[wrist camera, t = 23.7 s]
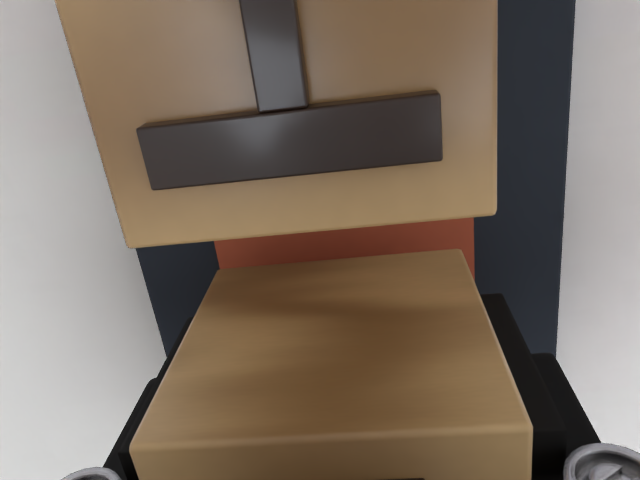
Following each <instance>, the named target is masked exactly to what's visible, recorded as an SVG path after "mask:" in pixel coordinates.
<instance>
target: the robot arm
mask: <svg viewBox="0 0 640 480" xmlns="http://www.w3.org/2000/svg"><path fill="white" fill-rule="evenodd" d="M480 297H481V299H482V302H483V304H484V307H485V309H486V311H487V314H488V316H489V319H490V321H491V324H492V326H493V329H494V331H495V334H496V336H497V339H498V341H499V344H500V346H501V349H502V351H503V354H504V356H505V359H506V361H507V364H508V366H509V368H510V371H511V373H512V376H513V378H514V381H515V383H516V386H517V388H518V391H519V393H520V396H521V398H522V401H523V403H524V406H525V408H526V411H527V413H528V416H529V418H530V421H531V423H532V426H533V447H532V475H531V480H640V453H638V452H635V451H633V450H631V449H629V448H626V447H622V446H618V445H614V444H605V443H601V442H600V440H599V438H598V436H597V434H596V432H595V430H594V429H593V427H592V425H591V423H590V421H589V419H588V417H587V416H586V414H585V412H584V410H583V408H582V406H581V404H580V403H579V401H578V399H577V397H576V395H575V393H574V391H573V390H572V388H571V386H570V384H569V382H568V380H567V378H566V377H565V375H564V373H563V371H562V369H561V367H560V365H559V364H558V362H557V360H556V358H555V357H554V355H553V354H552V353H550V352H549V353H533V354H531V353H530V351H529V349H528V346H527V344H526V342H525V340H524V338H523V336H522V334H521V332H520V330H519V328H518V326H517V323H516V321H515V319H514V317H513V315H512V313H511V311H510V309H509V307H508V305H507V302H506V300H505V298H504V296H503V294H502V293H494V294H481V295H480ZM193 318H194V317H189V318H188V319H187V320H186V322H185V324H184V326H183V328H182V330H181V332H180V334H179V336H178V338H177V339H176V341H175V343H174V345H173V347H172V349H171V351H170V353H169V355H168V357H167V359H166V361H165V363H164V364H163V366H162V368H161V370H160V372H159V374H158V376H157V378H154V379H152V380H150V381H149V383H148V384H147V386H146V387H145V389H144V391H143V393H142V395H141V397H140V399H139V400H138V402H137V404H136V406H135V408H134V410H133V412H132V414H131V415H130V417H129V419H128V421H127V423H126V425H125V427H124V428H123V430H122V432H121V434H120V436H119V438H118V440H117V441H116V443H115V445H114V447H113V449H112V451H111V453H110V455H109V456H108V458H107V460H106V462H105V464H104V466H103V467H93V468H86V469H83V470H80V471H77V472H74V473H72V474H70V475H68V476H66V477H64V478H63V479H61V480H139V478H138V475H137V472H136V469H135V467H134V464H133V461H132V458H131V455H130V452H129V447H130V443H131V441H132V439H133V437H134V435H135V433H136V431H137V429H138V427H139V425H140V423H141V421H142V419H143V417H144V415H145V413H146V411H147V409H148V407H149V405H150V403H151V401H152V399H153V397H154V395H155V393H156V391H157V389H158V387H159V385H160V383H161V381H162V379H163V377H164V375H165V373H166V371H167V370H168V368H169V366H170V364H171V362H172V360H173V358H174V356H175V354H176V352H177V350H178V348H179V346H180V344H181V342H182V340H183V338H184V336H185V334H186V332H187V330H188V328H189V326H190V324H191V322H192V320H193Z"/></svg>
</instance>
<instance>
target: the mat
mask: <svg viewBox="0 0 640 480" xmlns="http://www.w3.org/2000/svg"><path fill="white" fill-rule="evenodd" d="M575 1H576V0H498V39H497V210H496V213H495V214H494V215H492V216H482V217H471V218H460V219H449V220H438V221H427V222H416V223H405V224H394V225H383V226H372V227H361V228H350V229H339V230H328V231H317V232H306V233H295V234H284V235H273V236H262V237H251V238H240V239H229V240H218V241H207V242H196V243H185V244H174V245H163V246H152V247H141V248H136V251H137V255H138V258H139V262H140V265H141V269H142V272H143V276H144V279H145V282H146V286H147V289H148V293H149V296H150V300H151V303H152V307H153V310H154V314H155V317H156V321H157V324H158V328H159V331H160V335H161V338H162V342H163V345H164V349H165V352H166V356H167V357H168V355H169V353H170V351H171V349H172V347H173V345H174V343H175V341H176V339H177V338H178V336H179V334H180V332H181V330H182V328H183V326H184V324H185V322H186V320H187V319H188V318H189V317H194V316H195V314H196V312H197V310H198V308H199V306H200V304H201V302H202V300H203V298H204V296H205V294H206V292H207V290H208V288H209V286H210V284H211V282H212V280H213V278H214V276H215V274H216V272H217V271H218V270H220V269H227V268H239V267H251V266H262V265H274V264H285V263H297V262H309V261H320V260H332V259H344V258H355V257H367V256H378V255H390V254H402V253H413V252H425V251H437V250H448V249H461V250H462V252H463V254H464V257H465V259H466V262H467V264H468V267H469V269H470V272H471V274H472V277H473V279H474V282H475V284H476V287H477V289H478V292H479V294H480V295H481V294H494V293H502V294H503V296H504V298H505V300H506V302H507V305H508V307H509V309H510V311H511V313H512V315H513V317H514V319H515V321H516V323H517V326H518V328H519V330H520V332H521V334H522V336H523V338H524V340H525V342H526V344H527V346H528V349H529V351H530V353H531V354H533V353H549V352H550V353H552V354H553V355H554V357H555V358H556V344H557V326H558V308H559V290H560V272H561V254H562V236H563V218H564V200H565V182H566V163H567V145H568V127H569V109H570V91H571V73H572V55H573V37H574V19H575Z"/></svg>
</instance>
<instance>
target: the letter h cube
mask: <svg viewBox="0 0 640 480" xmlns="http://www.w3.org/2000/svg"><path fill="white" fill-rule="evenodd" d="M55 3H56V7H57V10H58V14H59V17H60V20H61V24H62V27H63V31H64V34H65V37H66V41H67V44H68V48H69V51H70V54H71V58H72V61H73V65H74V68H75V71H76V75H77V78H78V82H79V85H80V88H81V92H82V95H83V99H84V102H85V106H86V109H87V112H88V116H89V119H90V123H91V126H92V129H93V133H94V136H95V140H96V143H97V146H98V150H99V153H100V157H101V160H102V163H103V167H104V170H105V174H106V177H107V181H108V184H109V187H110V191H111V194H112V198H113V201H114V204H115V208H116V211H117V215H118V218H119V221H120V225H121V228H122V232H123V235H124V238H125V242H126V245H127V246H128V248H141V247H152V246H163V245H174V244H185V243H196V242H207V241H218V240H229V239H240V238H251V237H262V236H273V235H284V234H295V233H306V232H317V231H328V230H339V229H350V228H361V227H372V226H383V225H394V224H405V223H416V222H427V221H438V220H449V219H460V218H471V217H482V216H492V215H494V214H495V213H496V210H497V39H498V0H55Z"/></svg>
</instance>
